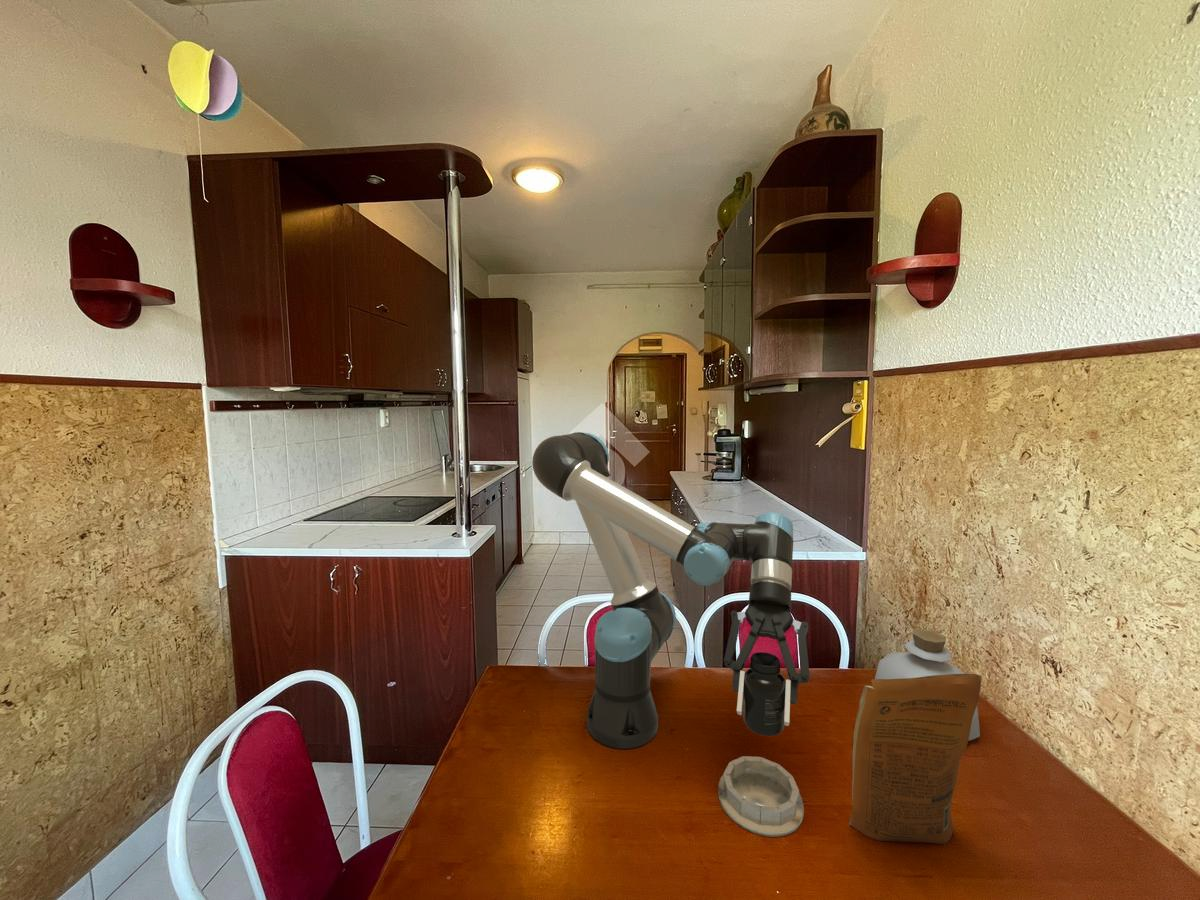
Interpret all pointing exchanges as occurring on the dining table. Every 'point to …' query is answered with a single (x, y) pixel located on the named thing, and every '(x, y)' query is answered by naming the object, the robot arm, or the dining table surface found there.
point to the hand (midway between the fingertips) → (762, 718)
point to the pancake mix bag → (910, 755)
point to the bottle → (923, 663)
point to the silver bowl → (761, 797)
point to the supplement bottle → (764, 695)
